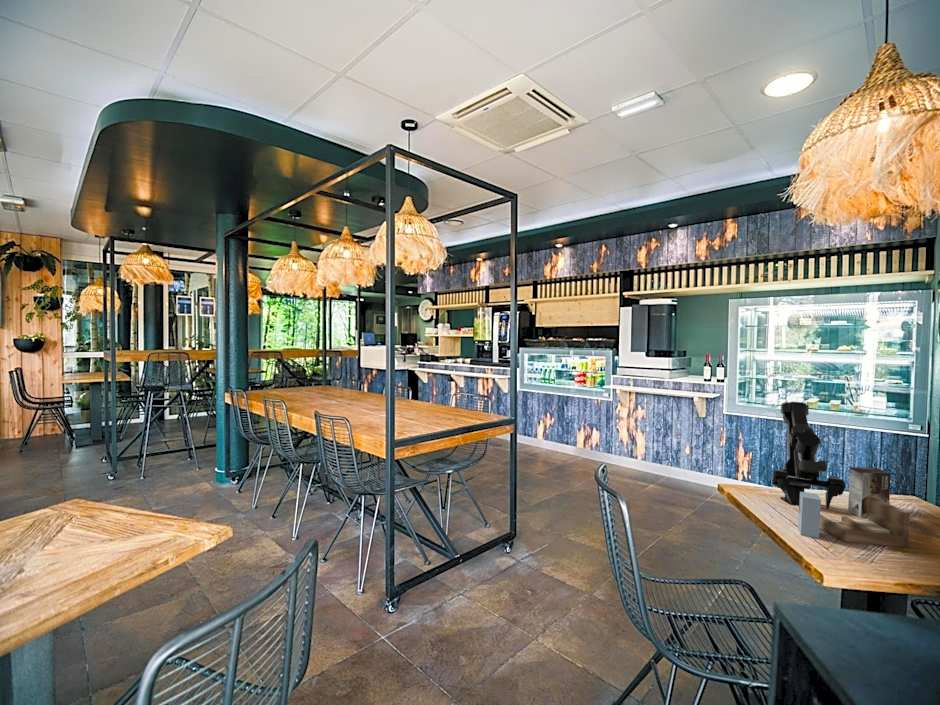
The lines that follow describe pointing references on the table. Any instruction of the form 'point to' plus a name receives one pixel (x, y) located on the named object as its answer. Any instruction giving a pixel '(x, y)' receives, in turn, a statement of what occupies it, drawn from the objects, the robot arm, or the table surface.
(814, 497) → the blue-gray rectangular box
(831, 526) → the book rack
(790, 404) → the robot arm
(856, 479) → the coffee box
